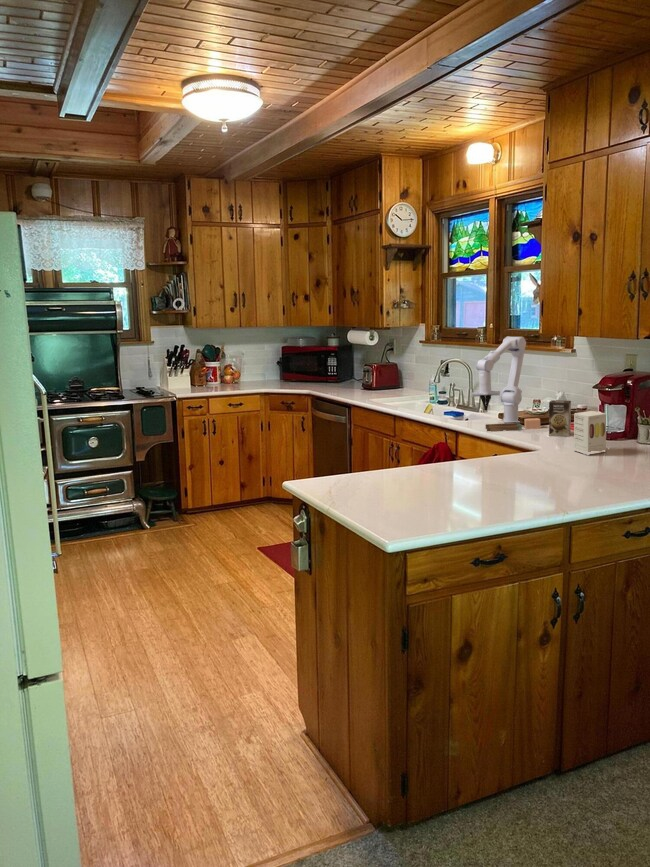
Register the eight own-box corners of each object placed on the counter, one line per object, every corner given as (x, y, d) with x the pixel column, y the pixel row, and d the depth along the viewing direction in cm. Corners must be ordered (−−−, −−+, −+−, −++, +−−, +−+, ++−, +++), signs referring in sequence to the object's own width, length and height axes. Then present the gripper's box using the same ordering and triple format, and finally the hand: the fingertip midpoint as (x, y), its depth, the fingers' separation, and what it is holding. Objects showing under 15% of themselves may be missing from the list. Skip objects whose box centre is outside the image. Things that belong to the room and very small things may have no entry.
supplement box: (587, 456, 289) (587, 416, 286) (573, 451, 298) (573, 413, 294) (606, 452, 292) (607, 413, 289) (591, 448, 301) (591, 410, 297)
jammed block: (524, 427, 350) (524, 418, 349) (539, 426, 349) (538, 418, 348) (525, 429, 346) (525, 420, 345) (540, 428, 345) (540, 419, 344)
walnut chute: (485, 428, 355) (485, 423, 354) (519, 426, 352) (519, 421, 352) (487, 431, 347) (486, 426, 347) (521, 430, 345) (521, 424, 344)
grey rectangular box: (548, 436, 328) (548, 402, 325) (551, 433, 334) (550, 399, 330) (569, 436, 324) (568, 402, 320) (571, 433, 329) (571, 400, 326)
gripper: (470, 385, 347) (471, 412, 350) (500, 383, 345) (501, 410, 348) (469, 383, 354) (470, 409, 357) (499, 381, 352) (500, 408, 355)
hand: (485, 410), depth 353 cm, fingers closed
